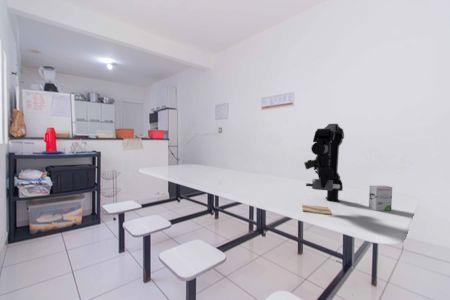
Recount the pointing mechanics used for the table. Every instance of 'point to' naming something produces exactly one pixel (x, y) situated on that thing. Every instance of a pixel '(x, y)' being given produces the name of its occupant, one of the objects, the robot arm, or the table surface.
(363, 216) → the table surface
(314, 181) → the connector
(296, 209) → the table surface
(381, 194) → the ink box
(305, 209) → the light brown wooden board
